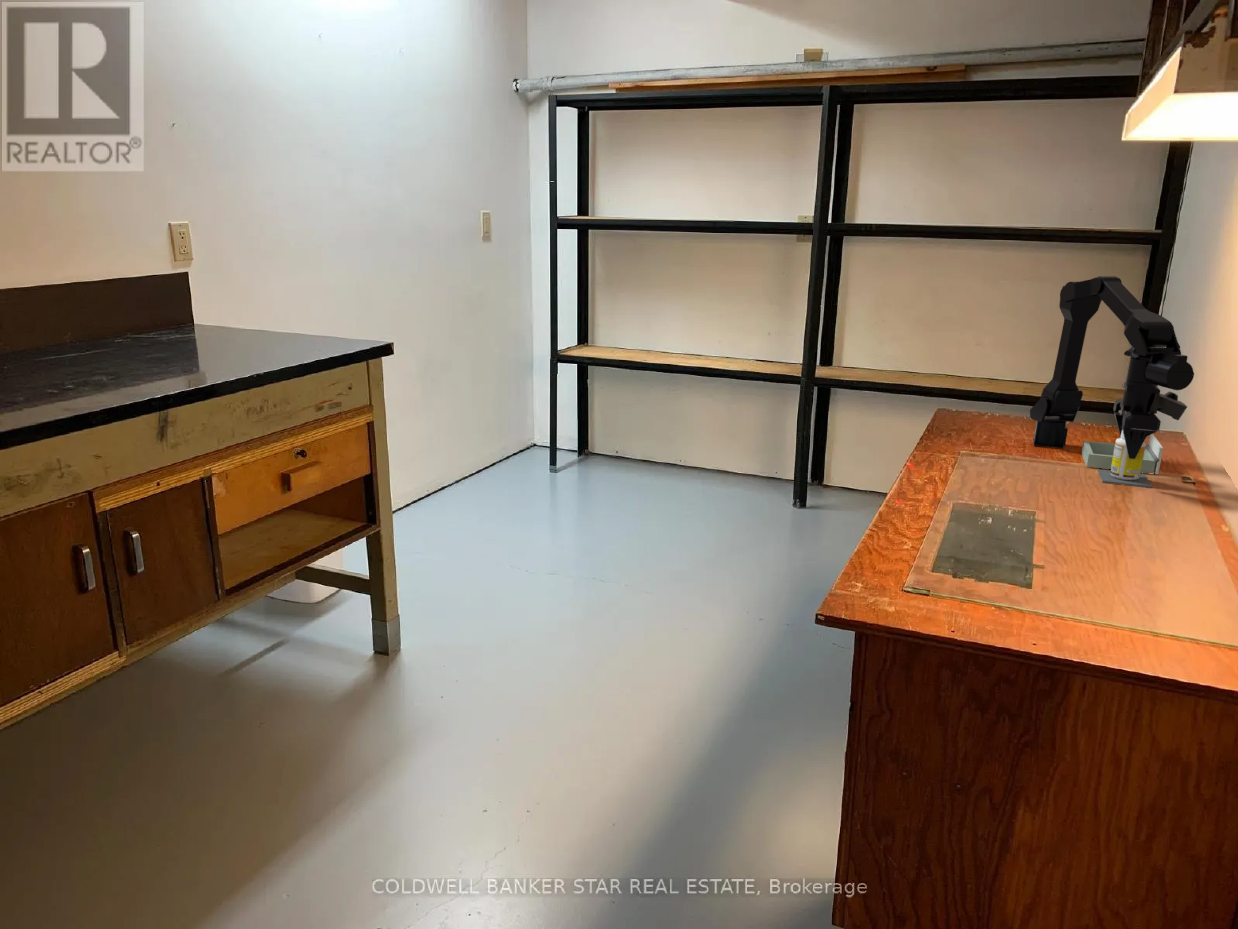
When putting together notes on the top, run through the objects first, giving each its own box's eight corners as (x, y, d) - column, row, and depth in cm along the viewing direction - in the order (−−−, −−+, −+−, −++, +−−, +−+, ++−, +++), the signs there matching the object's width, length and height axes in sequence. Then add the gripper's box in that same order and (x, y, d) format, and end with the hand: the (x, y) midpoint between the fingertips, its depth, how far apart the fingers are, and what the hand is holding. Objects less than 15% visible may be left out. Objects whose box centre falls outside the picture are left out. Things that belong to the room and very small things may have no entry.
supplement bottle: (1143, 478, 183) (1152, 431, 180) (1132, 482, 180) (1141, 435, 177) (1115, 471, 187) (1124, 426, 184) (1104, 476, 184) (1113, 430, 181)
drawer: (1086, 467, 192) (1091, 441, 190) (1081, 452, 203) (1085, 428, 202) (1158, 474, 187) (1163, 448, 185) (1148, 459, 198) (1153, 434, 197)
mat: (1102, 482, 181) (1102, 480, 181) (1097, 471, 189) (1098, 469, 189) (1151, 487, 178) (1151, 486, 178) (1144, 476, 186) (1144, 474, 186)
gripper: (1197, 392, 166) (1181, 469, 170) (1178, 376, 182) (1165, 446, 187) (1131, 387, 170) (1118, 462, 174) (1119, 372, 187) (1107, 441, 191)
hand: (1128, 453), depth 182 cm, fingers open, 9 cm apart
